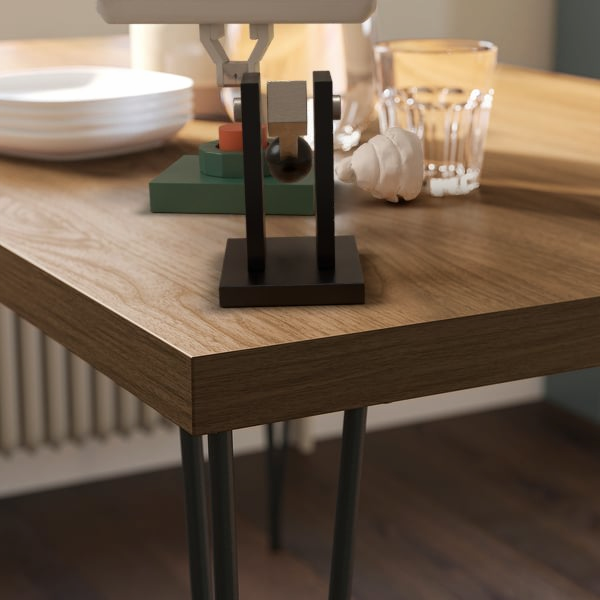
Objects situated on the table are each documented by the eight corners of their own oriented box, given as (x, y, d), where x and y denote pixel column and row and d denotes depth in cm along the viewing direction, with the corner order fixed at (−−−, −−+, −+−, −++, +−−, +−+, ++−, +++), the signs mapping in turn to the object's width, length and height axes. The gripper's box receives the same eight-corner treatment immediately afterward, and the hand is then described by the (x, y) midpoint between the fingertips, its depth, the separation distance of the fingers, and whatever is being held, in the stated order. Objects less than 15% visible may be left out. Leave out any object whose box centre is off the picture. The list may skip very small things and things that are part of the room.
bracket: (228, 256, 74) (219, 67, 70) (354, 253, 74) (353, 63, 70) (219, 307, 65) (209, 91, 61) (365, 303, 65) (363, 87, 61)
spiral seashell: (327, 197, 89) (326, 125, 87) (403, 191, 90) (404, 120, 88) (345, 214, 84) (344, 138, 82) (426, 208, 85) (426, 133, 83)
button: (271, 145, 89) (270, 122, 89) (262, 154, 86) (261, 130, 86) (225, 144, 90) (224, 122, 89) (214, 154, 87) (213, 130, 86)
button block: (332, 183, 93) (332, 133, 92) (313, 215, 84) (312, 159, 82) (185, 181, 95) (182, 132, 94) (150, 212, 85) (146, 158, 84)
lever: (265, 188, 78) (264, 142, 79) (313, 187, 78) (312, 140, 79) (258, 130, 65) (257, 73, 65) (316, 128, 65) (315, 72, 65)
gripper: (384, -115, 83) (383, 81, 88) (107, -110, 87) (120, 79, 91) (375, -117, 78) (375, 94, 82) (79, -110, 81) (93, 92, 85)
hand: (238, 86), depth 87 cm, fingers closed
